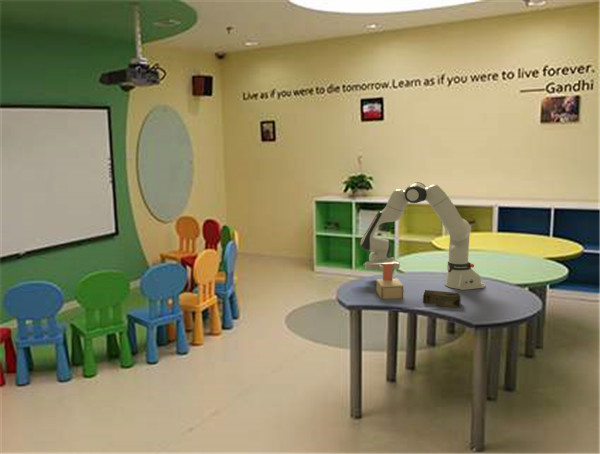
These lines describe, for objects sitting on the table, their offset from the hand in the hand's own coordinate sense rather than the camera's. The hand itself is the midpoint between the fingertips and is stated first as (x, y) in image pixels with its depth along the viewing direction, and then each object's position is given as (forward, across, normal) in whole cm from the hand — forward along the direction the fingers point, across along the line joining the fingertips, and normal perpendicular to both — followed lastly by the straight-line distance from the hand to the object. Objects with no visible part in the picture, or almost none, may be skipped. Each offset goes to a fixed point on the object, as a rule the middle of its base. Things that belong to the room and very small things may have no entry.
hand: (384, 268), depth 321 cm
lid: (+13, 0, +5) cm, 14 cm away
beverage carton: (+30, +24, +13) cm, 40 cm away
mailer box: (+13, 0, +12) cm, 18 cm away
